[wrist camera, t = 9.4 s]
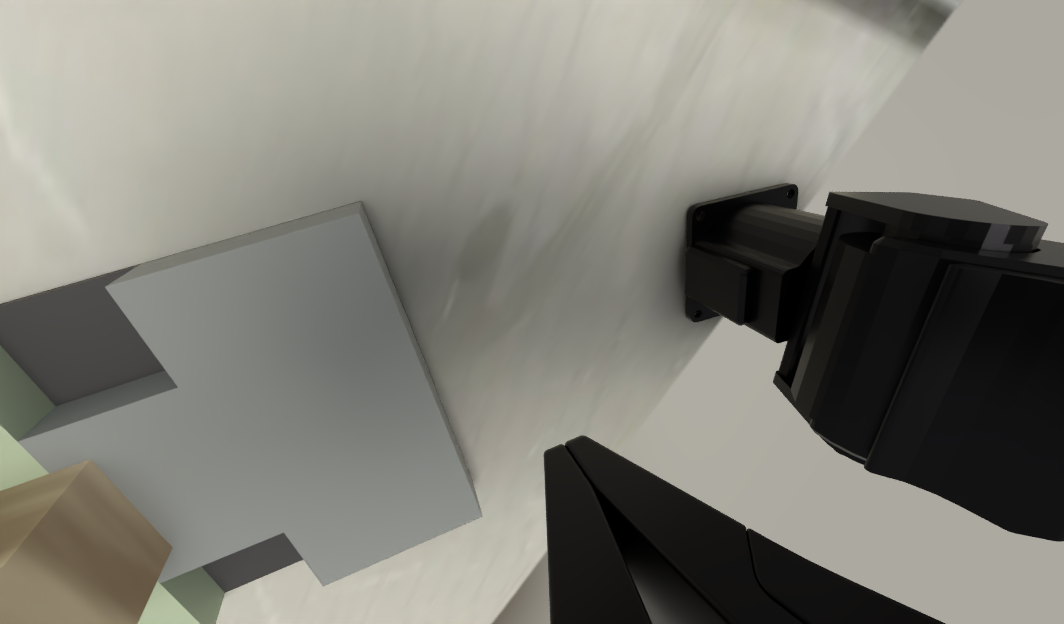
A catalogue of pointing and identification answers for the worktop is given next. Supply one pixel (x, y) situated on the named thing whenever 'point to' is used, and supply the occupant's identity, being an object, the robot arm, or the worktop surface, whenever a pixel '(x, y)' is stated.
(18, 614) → the beech block
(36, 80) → the worktop surface
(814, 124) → the worktop surface
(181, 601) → the board
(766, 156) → the worktop surface
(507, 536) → the worktop surface
